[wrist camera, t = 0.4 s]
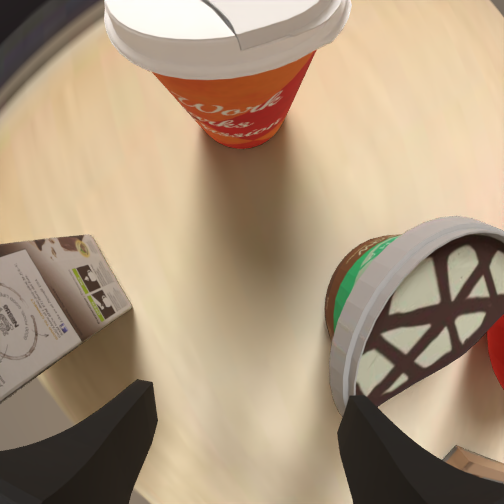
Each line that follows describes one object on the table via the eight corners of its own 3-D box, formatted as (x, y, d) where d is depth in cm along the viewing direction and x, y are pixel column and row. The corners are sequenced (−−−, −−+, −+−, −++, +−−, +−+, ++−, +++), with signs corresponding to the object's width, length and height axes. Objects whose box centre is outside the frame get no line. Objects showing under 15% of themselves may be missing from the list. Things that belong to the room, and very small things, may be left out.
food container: (422, 187, 20) (518, 169, 10) (453, 263, 20) (548, 286, 10) (271, 273, 20) (282, 320, 10) (313, 350, 21) (349, 438, 11)
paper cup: (164, 132, 20) (43, 24, 6) (223, 47, 19) (190, -107, 5) (265, 188, 20) (279, 113, 6) (321, 94, 19) (394, -50, 5)
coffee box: (90, 229, 20) (-114, 251, 4) (135, 308, 21) (-34, 437, 5) (21, 289, 21) (-132, 344, 5) (59, 356, 21) (-75, 457, 5)
